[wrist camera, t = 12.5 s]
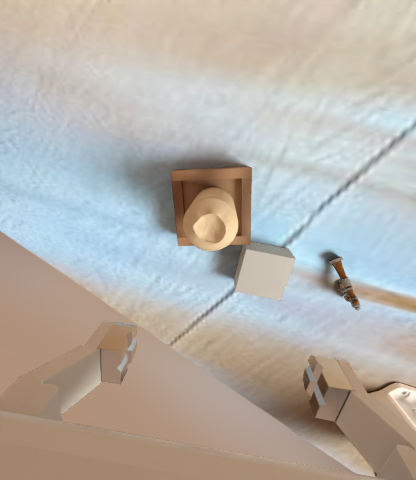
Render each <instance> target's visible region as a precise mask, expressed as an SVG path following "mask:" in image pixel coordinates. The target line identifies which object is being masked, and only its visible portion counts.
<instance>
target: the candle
mask: <svg viewBox="0 0 416 480" xmlns="http://www.w3.org/2000/svg"><path fill="white" fill-rule="evenodd" d="M183 229H184V232H185V235H186V237H187V238H188V240H189V241H190V242H191V243H192V244H193V245H194V246H196V247H198V248H200V249H202V250H206V251H216V250H220V249H222V248H224V247H226V246H228V245H229V244H230V243H231V242H232V241H233V240H234V238H235V236H236V234H237V231H238V218H237V214H236V209H235V205H234V201H233V199H232V197H231V196H230V194H229V193H228V192H226V191H225V190H223V189H221V188H217V187H211V188H207V189H204V190H203V191H201V192H200V193H199V194H198V195H197V197H196V198H195V199H194V201H193V202H192V204H191V205H190V207H189V208H188V209H187V211H186V213H185V216H184V219H183Z"/></svg>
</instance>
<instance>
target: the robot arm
mask: <svg viewBox="0 0 416 480" xmlns="http://www.w3.org/2000/svg"><path fill="white" fill-rule="evenodd" d="M136 334H137V326H134V325H128V324H124V323H118V322H111V321H107V320H105V321H104V322H103V323H102V324H101V325H100V326H99V328H98V329H97V330H96V331H95V333H94V334H93V335H92V337H91V338H90V339H89V340H88V342H87V343H86V344H85V346H79V347H77V348H75V349H73V350H71V351H69V352H68V353H65V354H64V355H62V356H60V357H58V358H56V359H54V360H52V361H50V362H48V363H46V364H44V365H42V366H40V367H38V368H36V369H35V370H32V371H30V372H29V373H27V374H25V375H23V376H21V377H19V378H18V379H17V380H16V381H15V382H14V383H13V384H12V385H11V386H10V387H9V388H8V390H7V391H6V392H5V393H4V394H3V395H2V396H1V397H0V480H416V388H414V387H411V386H408V385H404V384H401V383H393V384H391V385H389V386H387V387H385V388H384V389H382V390H379V391H376V392H372V393H367V392H366V390H365V389H364V387H363V385H362V384H361V382H360V380H359V379H358V377H357V375H356V374H355V372H354V371H353V369H352V367H351V366H350V364H349V362H348V361H347V360H345V359H338V358H330V357H324V356H317V355H311V356H310V357H309V360H308V362H309V366H308V367H306V368H305V371H304V375H303V382H304V387H305V390H306V392H307V393H308V394H309V395H310V396H311V399H310V404H311V407H312V410H313V413H314V416H315V418H319V419H324V420H329V421H334V422H336V424H337V425H338V427H339V428H340V429H341V430H342V432H343V433H344V434H345V435H346V436H347V438H348V439H349V440H350V441H351V443H352V444H353V445H354V446H355V448H356V449H357V450H358V451H359V453H360V454H361V455H362V456H363V457H364V459H365V460H366V461H367V462H368V464H369V465H370V467H371V469H372V470H373V472H374V474H375V476H376V477H370V476H365V475H359V474H354V473H348V472H343V471H337V470H331V469H326V468H320V467H314V466H309V465H303V464H297V463H292V462H286V461H281V460H275V459H270V458H264V457H259V456H253V455H247V454H242V453H236V452H230V451H224V450H219V449H213V448H208V447H202V446H197V445H191V444H186V443H180V442H174V441H169V440H163V439H158V438H152V437H147V436H141V435H135V434H129V433H125V432H119V431H113V430H108V429H102V428H97V427H90V426H85V425H79V424H74V423H69V422H63V421H62V418H61V415H62V414H63V413H64V412H66V411H67V410H68V409H69V408H70V407H72V406H73V405H74V404H75V403H77V402H78V401H79V400H80V399H82V398H83V397H84V396H85V395H87V394H88V393H89V392H90V391H91V390H92V389H94V388H95V387H96V386H97V385H99V384H100V383H101V381H102V382H109V383H116V384H121V382H122V380H123V378H124V376H125V374H126V372H127V365H128V364H129V363H130V362H132V359H133V357H134V354H135V351H136V346H137V340H136V338H135V336H136Z"/></svg>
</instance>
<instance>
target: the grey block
mask: <svg viewBox="0 0 416 480" xmlns="http://www.w3.org/2000/svg"><path fill="white" fill-rule="evenodd" d="M295 260H296V259H295V257H294V256H293V254H292V253H291V252H290V250H289V249H287V248H282V247H277V246H272V245H267V244H262V243H257V242H252V241H250V245H243V246H242V250H241V254H240V257H239V261H238V265H237V269H236V273H235V277H234V285H235V292H240V293H245V294H250V295H256V296H261V297H266V298H271V299H276V300H281V299H282V296H283V293H284V290H285V287H286V285H287V282H288V279H289V276H290V273H291V271H292V268H293V265H294V262H295Z"/></svg>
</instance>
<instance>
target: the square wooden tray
mask: <svg viewBox="0 0 416 480" xmlns="http://www.w3.org/2000/svg"><path fill="white" fill-rule="evenodd" d="M171 179H172V189H173V199H174V209H175V220H176V230H177V240H178V246H194V245H193V244H192V243H191V242H190V241H189V240H188V238H187V237H186V235H185V232H184V229H183V219H184V216H185V213H186V211H187V209H188V208H189V207H190V205H191V204H192V202H193V201H194V199H195V198H196V197H197V195H198V194H199V193H200V192H201V191H203V190H204V189H207V188H211V187H217V188H221V189H223V190H225V191H226V192H228V193H229V194H230V196H231V197H232V199H233V201H234V205H235V209H236V214H237V218H238V231H237V234H236V236H235V238H234V240H233V241H232V242H231V243H230V244H229V245H250V236H251V184H252V168H251V167H249V166H247V167H225V168H202V169H180V170H174V171H171Z"/></svg>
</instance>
